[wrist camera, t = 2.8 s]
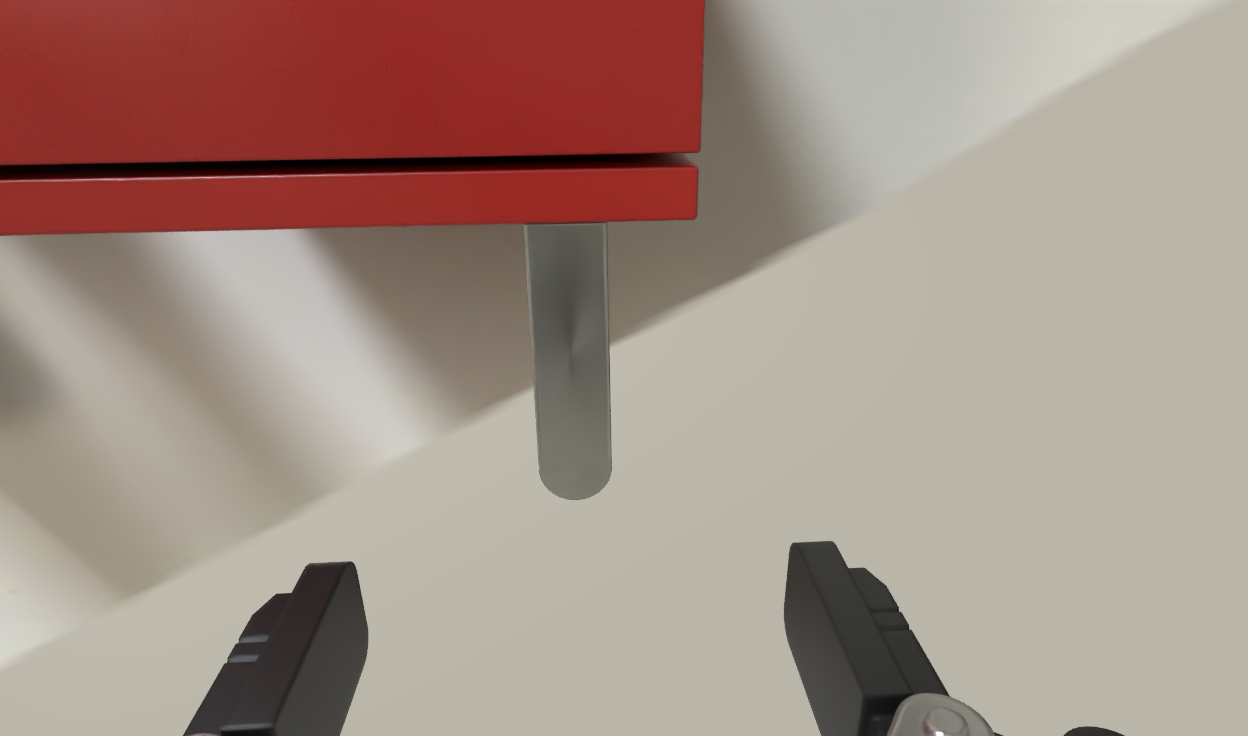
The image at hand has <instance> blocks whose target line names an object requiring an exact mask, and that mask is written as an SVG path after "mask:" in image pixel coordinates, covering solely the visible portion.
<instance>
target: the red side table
mask: <svg viewBox="0 0 1248 736" xmlns="http://www.w3.org/2000/svg"><path fill="white" fill-rule="evenodd" d="M698 173H699V169H698V167H697V166H696V165H695V164H694V163H693V162H692V161H691V160H690V159H689V158H688V157H687V156H686V155H685V154H684V153H656V154H601V155H546V156H491V157H436V158H381V159H326V160H271V161H216V162H161V163H106V164H51V165H0V236H12V235H55V234H99V233H143V232H186V231H230V230H274V229H318V228H361V227H405V226H449V225H492V224H524V225H523V229H524V244H525V260H526V275H527V291H528V306H529V321H530V337H531V352H532V367H533V383H534V398H535V413H536V429H537V443H538V460H539V474H540V477H541V480H542V482H543V483H544V485H545V486H546V487H547V489H549V490H550V491H551V492H552V493H553V494H555V495H557V496H559V497H561V498H564V499H569V500H580V499H586V498H589V497H591V496H593V495H595V494H597V493H598V492H600V491H601V490H602V489H603V488H604V487H605V485H606V484H607V483H608V481H609V478H610V476H611V470H612V466H611V462H612V461H611V414H610V413H611V409H610V362H609V361H610V358H609V306H608V255H607V222H623V221H667V220H694V219H696V218H697V207H698Z"/></svg>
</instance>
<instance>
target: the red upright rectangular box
mask: <svg viewBox="0 0 1248 736" xmlns="http://www.w3.org/2000/svg"><path fill="white" fill-rule="evenodd" d="M704 24H705V0H0V165H51V164H106V163H161V162H216V161H271V160H326V159H381V158H436V157H491V156H546V155H601V154H656V153H698V152H700V150H701V123H702V90H703V57H704Z"/></svg>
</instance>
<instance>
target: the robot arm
mask: <svg viewBox="0 0 1248 736" xmlns="http://www.w3.org/2000/svg"><path fill="white" fill-rule="evenodd" d="M784 622H785V630H786V635H787V639H788V643H789V646H790V649H791V651H792V655H793V657H794V660H795V663H796V666H797V669H798V671H799V674H800V677H801V680H802V683H803V686H804V688H805V691H806V694H807V697H808V700H809V702H810V705H811V708H812V711H813V714H814V717H815V719H816V722H817V725H818V727H819V731H820V733H821V736H1003V735H1000V734H997V733H995V732H993V730H992V729H991V727H990V726H989V724H988V723H987V722H986V720H985V719H984V718H983V717H982V716H981V715H980V714H979V713H977V712H976V711H975V710H974V709H972V708H971V707H969V706H968V705H966V704H965V703H962V702H961V701H959V700H956V699H954V698H951V697H950V696H949V695H948V692H947V691H946V689H945V687H944V686H943V684H942V682H941V680H940V679H939V677H938V675H937V673H936V672H935V670H934V668H933V667H932V665H931V663H930V661H929V659H928V658H927V656H926V654H925V652H924V651H923V649H922V647H921V645H920V644H919V642H918V640H917V639H916V637H915V635H914V633H913V632H912V630H909V625H908V623H907V621H906V619H905V618H904V616H903V614H902V613H901V612H899V607H898V606H897V604H896V602H895V600H894V599H893V597H892V595H891V593H890V592H889V590H888V588H887V586H886V585H884V584H883V583H882V582H881V581H879V580H878V579H877V578H876V577H875V576H874V575H873V574H871V573H870V572H869V571H868V570H867V569H865V568H848V567H847V565H846V563H845V561H844V559H843V557H842V555H841V553H840V552H839V550H838V548H837V546H836V545H835V543H834V542H832V541H823V542H803V543H802V542H801V543H792V545H791V547H790V552H789V561H788V571H787V582H786V592H785V602H784ZM367 649H368V627H367V621H366V616H365V611H364V605H363V601H362V596H361V590H360V585H359V580H358V574H357V570H356V567H355V565H354V563H353V562H351V561H350V562H329V563H310V564H308V565H307V566H306V567H305V569H304V571H303V573H302V574H301V576H300V578H299V580H298V582H297V584H296V586H295V588H294V589H293V591H292V593H286V594H285V593H284V594H276V595H275V596H273V597H272V598H271V599H270V600H269V601H268V602H267V603H266V604H264V605H263V606H262V607H261V608H260V609H259V610H258V611H257V612H255V614H253V615H252V617H251V619H250V620H249V622H248V624H247V626H246V627H245V629H244V631H243V632H242V634H241V636H240V638H239V643H237V644H236V645H235V646H234V648H233V650H232V652H231V653H230V655H229V657H228V661H227V663H225V664H224V665H223V667H222V669H221V671H220V673H219V674H218V676H217V678H216V679H215V681H214V683H213V685H212V686H211V688H210V690H209V692H208V693H207V695H206V697H205V699H204V700H203V702H202V704H201V705H200V707H199V709H198V710H197V712H196V714H195V716H194V717H193V719H192V721H191V723H190V724H189V726H188V728H187V730H186V731H185V733H184V735H183V736H340V733H341V730H342V727H343V724H344V722H345V719H346V716H347V713H348V710H349V707H350V705H351V702H352V699H353V696H354V693H355V690H356V687H357V684H358V682H359V678H360V676H361V673H362V670H363V667H364V664H365V661H366V656H367ZM1064 736H1124V735H1122V734H1119V733H1117V732H1114V731H1111V730H1108V729H1104V728H1098V727H1088V726H1087V727H1078V728H1075V729H1072V730H1070V731H1068V732H1067V733H1066V734H1065V735H1064Z"/></svg>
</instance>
